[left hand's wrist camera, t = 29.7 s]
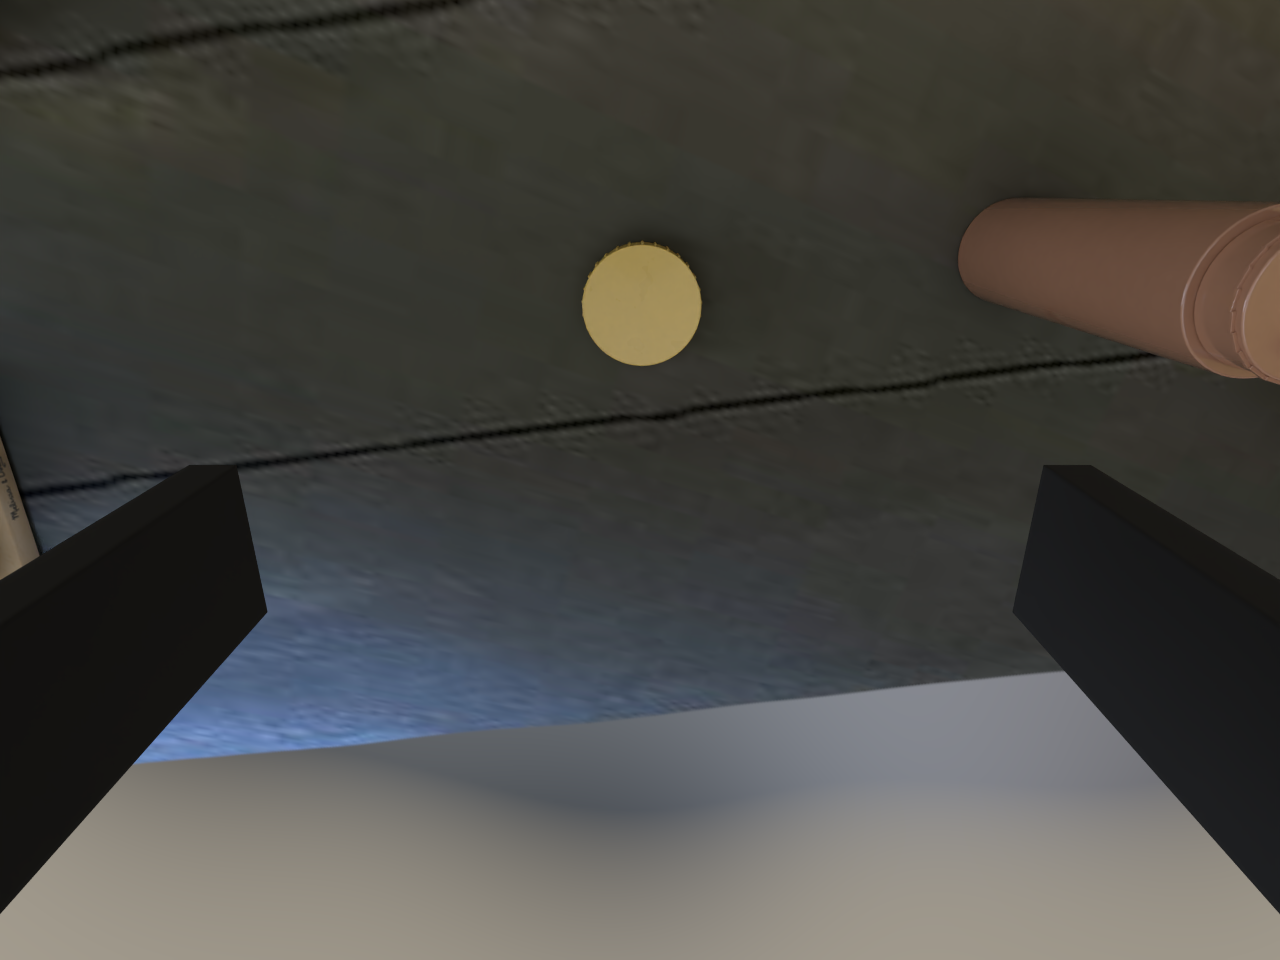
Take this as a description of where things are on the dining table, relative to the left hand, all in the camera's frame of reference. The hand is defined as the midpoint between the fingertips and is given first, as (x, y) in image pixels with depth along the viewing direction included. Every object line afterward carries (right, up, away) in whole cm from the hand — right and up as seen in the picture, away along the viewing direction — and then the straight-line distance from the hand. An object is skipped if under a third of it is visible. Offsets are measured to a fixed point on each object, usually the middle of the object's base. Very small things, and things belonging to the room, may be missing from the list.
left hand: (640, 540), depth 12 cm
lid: (0, +10, +26) cm, 28 cm away
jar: (+20, +13, +27) cm, 36 cm away
